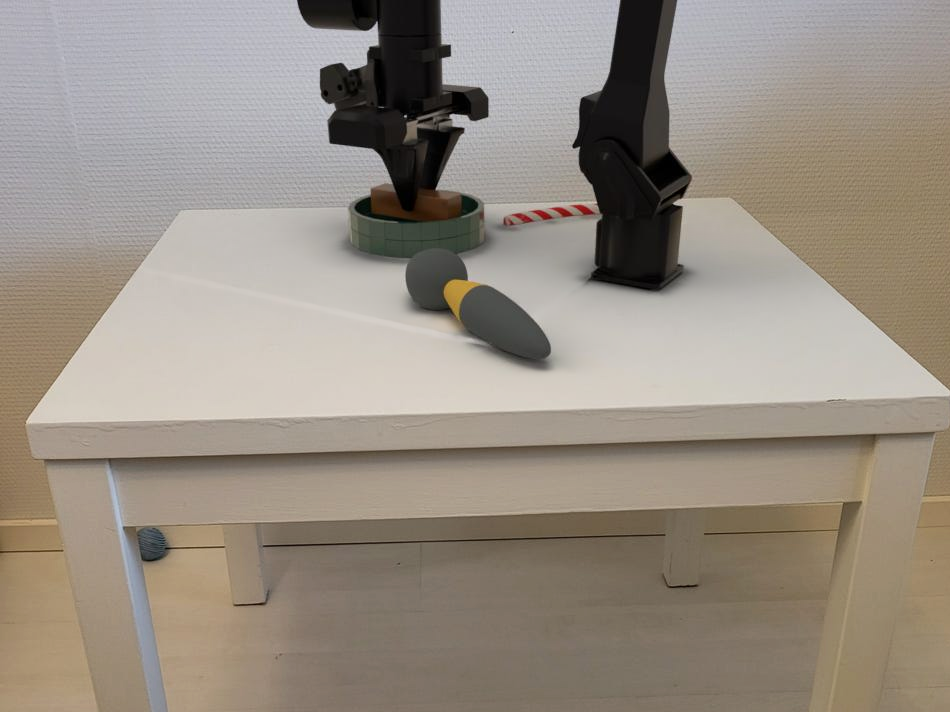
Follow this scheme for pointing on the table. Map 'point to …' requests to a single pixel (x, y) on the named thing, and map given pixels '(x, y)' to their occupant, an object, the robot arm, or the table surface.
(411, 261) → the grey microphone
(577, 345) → the table surface
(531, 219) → the candy cane
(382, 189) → the block
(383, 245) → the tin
